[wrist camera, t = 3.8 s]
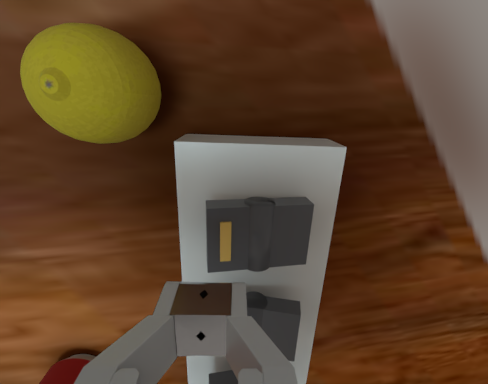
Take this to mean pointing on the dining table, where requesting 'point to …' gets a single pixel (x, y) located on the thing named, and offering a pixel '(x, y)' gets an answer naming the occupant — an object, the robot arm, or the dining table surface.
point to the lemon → (90, 83)
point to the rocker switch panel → (258, 185)
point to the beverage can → (67, 369)
